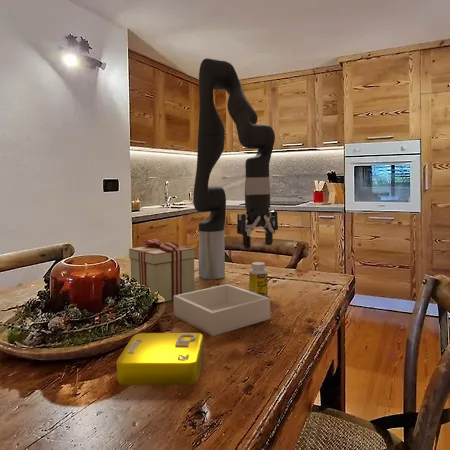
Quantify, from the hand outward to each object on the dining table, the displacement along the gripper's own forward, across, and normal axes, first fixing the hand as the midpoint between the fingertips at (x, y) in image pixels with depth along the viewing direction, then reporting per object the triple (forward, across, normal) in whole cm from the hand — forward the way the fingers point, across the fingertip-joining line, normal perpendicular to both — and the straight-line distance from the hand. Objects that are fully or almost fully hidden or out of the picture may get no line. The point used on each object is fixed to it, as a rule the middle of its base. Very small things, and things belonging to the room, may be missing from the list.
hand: (258, 246), depth 123 cm
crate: (+15, +20, +8) cm, 26 cm away
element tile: (+16, +45, +23) cm, 53 cm away
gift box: (+15, +21, -21) cm, 33 cm away
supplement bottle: (+16, 0, 0) cm, 16 cm away
